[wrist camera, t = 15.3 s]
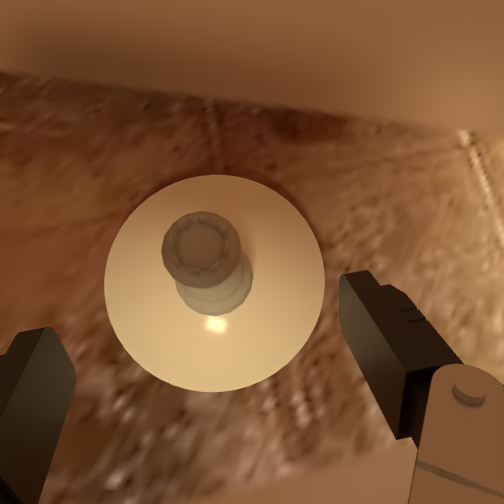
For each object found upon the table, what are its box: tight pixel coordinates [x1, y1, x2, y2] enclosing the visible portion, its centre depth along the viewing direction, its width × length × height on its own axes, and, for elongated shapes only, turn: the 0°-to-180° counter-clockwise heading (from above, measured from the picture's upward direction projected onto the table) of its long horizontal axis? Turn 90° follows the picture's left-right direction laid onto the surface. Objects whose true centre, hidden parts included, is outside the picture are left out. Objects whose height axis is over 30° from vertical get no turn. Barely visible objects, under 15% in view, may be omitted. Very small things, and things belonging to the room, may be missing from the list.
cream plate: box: [104, 175, 325, 392], centre depth 23 cm, size 13×13×1 cm
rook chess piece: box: [161, 211, 253, 316], centre depth 18 cm, size 4×4×8 cm
